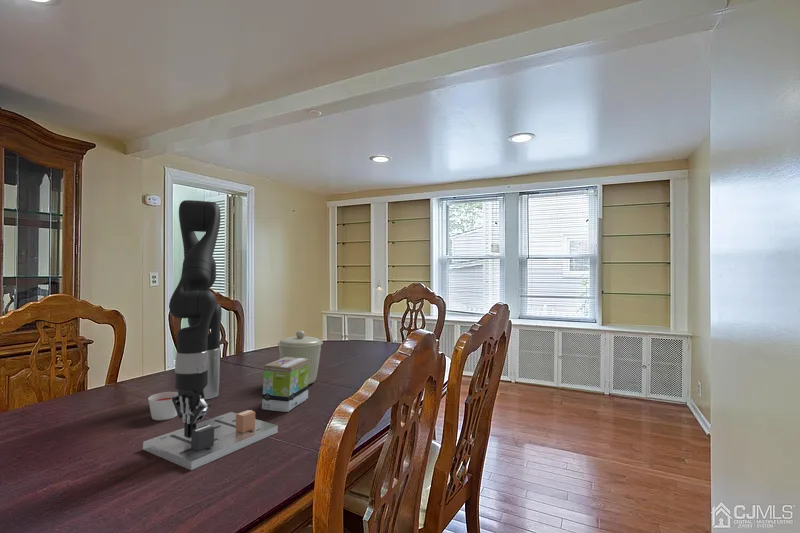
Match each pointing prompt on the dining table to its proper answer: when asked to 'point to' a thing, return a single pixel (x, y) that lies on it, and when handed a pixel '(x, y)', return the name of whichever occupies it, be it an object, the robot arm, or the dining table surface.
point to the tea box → (285, 383)
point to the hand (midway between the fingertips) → (190, 436)
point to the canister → (302, 351)
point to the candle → (162, 406)
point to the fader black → (202, 437)
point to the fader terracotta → (245, 421)
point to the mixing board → (225, 443)
